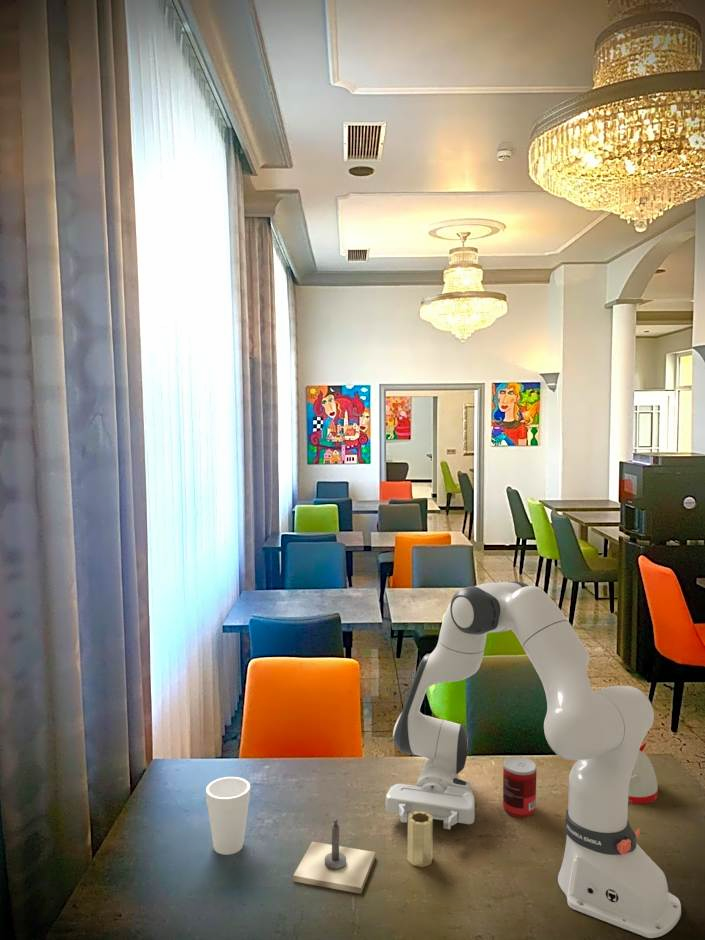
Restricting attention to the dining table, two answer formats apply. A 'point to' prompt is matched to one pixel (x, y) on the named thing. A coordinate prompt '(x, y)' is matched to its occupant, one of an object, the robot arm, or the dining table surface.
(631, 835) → the robot arm
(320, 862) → the shaft stand
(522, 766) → the canned food
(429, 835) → the collar
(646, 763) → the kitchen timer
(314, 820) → the dining table surface
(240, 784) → the foam cup
